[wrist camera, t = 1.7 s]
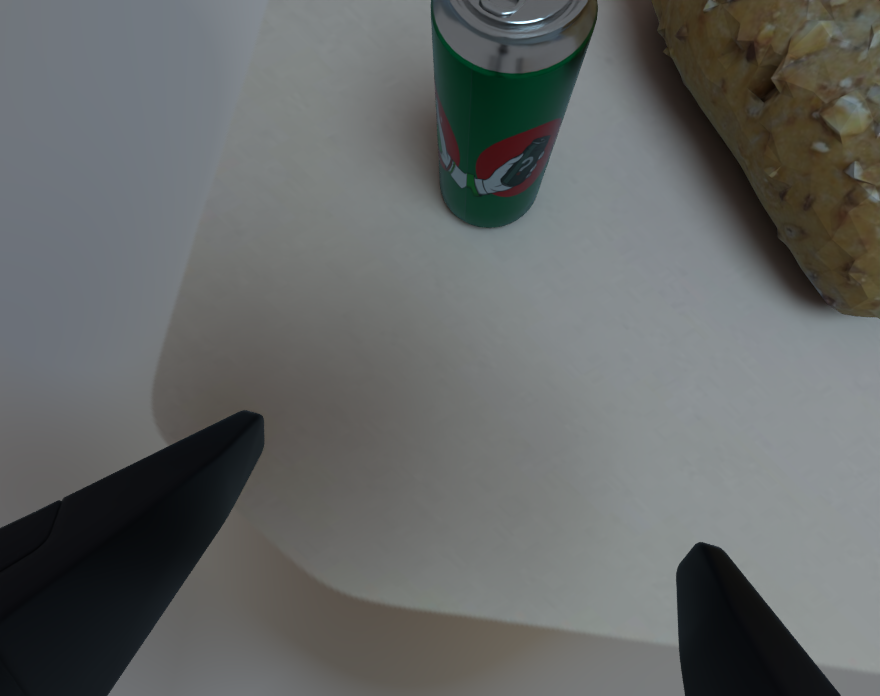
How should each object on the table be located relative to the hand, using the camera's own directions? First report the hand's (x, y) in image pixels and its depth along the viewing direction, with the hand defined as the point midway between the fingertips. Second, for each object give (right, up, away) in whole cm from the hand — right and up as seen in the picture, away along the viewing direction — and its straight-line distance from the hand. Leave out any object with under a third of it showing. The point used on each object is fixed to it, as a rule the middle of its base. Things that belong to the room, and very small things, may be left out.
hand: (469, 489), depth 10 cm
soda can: (+2, +11, +16) cm, 20 cm away
